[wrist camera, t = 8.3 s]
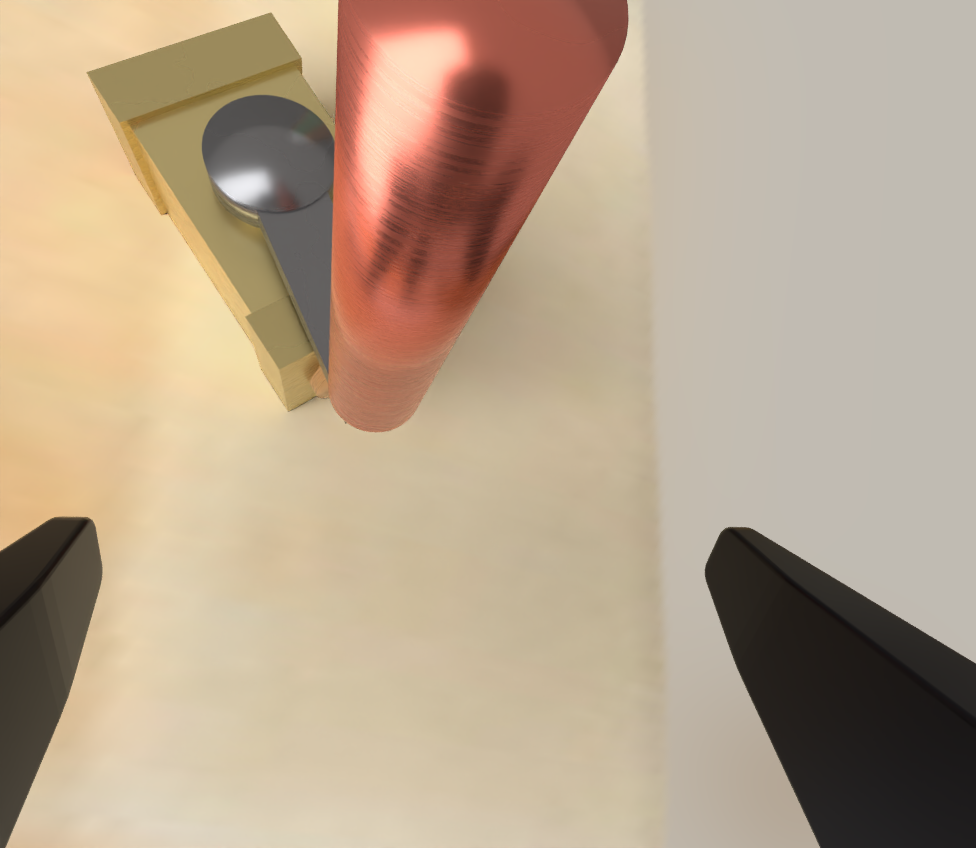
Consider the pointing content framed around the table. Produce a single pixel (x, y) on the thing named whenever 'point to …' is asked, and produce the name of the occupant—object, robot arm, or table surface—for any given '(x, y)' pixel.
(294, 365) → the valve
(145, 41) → the table surface
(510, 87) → the lever
